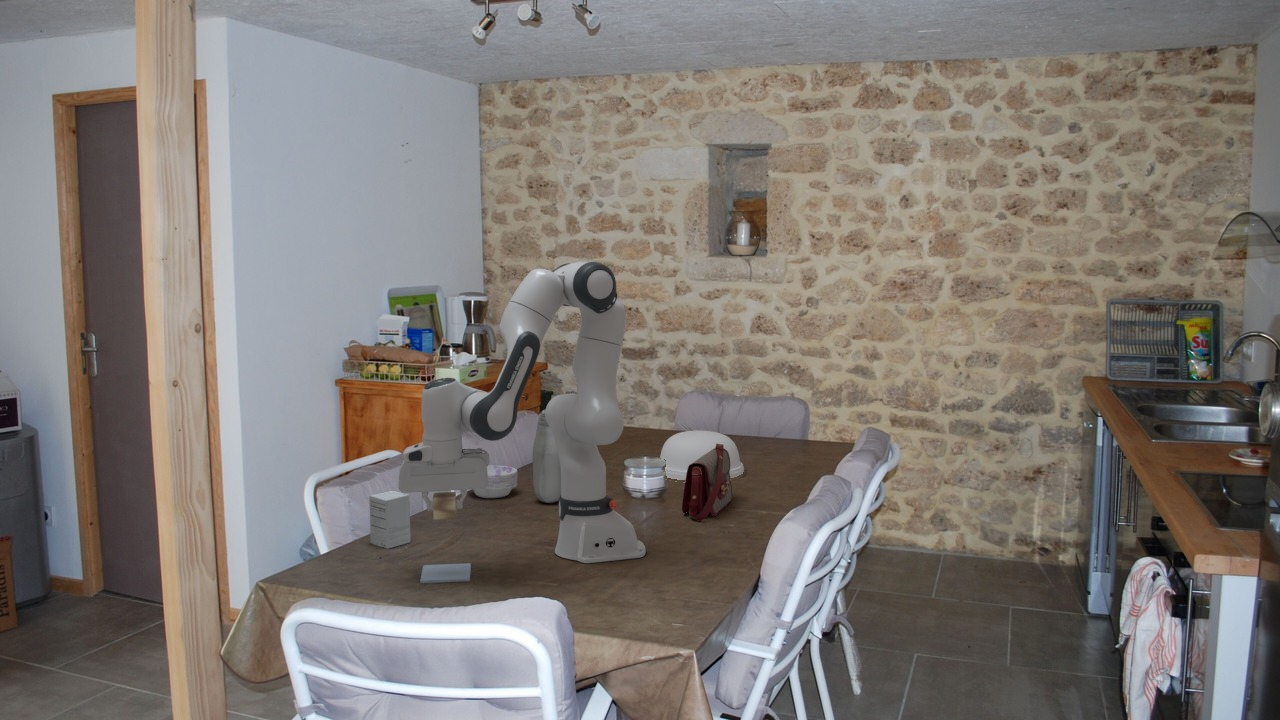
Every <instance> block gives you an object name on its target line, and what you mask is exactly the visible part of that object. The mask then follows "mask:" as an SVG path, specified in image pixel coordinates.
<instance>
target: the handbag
mask: <svg viewBox="0 0 1280 720" xmlns="http://www.w3.org/2000/svg"><path fill="white" fill-rule="evenodd" d="M723 446H724V445H723V444H716V447H715V448H714V449H712V450H711V451H710V452H708V453H707V454H705V455H703V456H702V457H700V458H699V459H698V460H696V461H695V462H693V463H692V464H690V465H689V466H688V469H687V474H686V481H685V482H684V489H683V495H682V503H681V511H682V513H683V514H687V513H688V515H689V518H691V519H693V520H696V521H698V520H701V521H703V520H705V518H707V517H708V516H709V514H710V515H711V516H712V517H716V516H717V515H716V514H718V513H719V512H720V511H721V510H722V509H723V508H724V507H725V506H726V505H727V504H728V503H729V502H730V503H731V501H732V498H733V487H732V486H733V485H732V481H731V479H730V456H729V453H728V451H727V450H726V449H724V447H723ZM730 503H729V504H730ZM729 504H728V505H729ZM728 505H727V506H728ZM727 506H726V507H727ZM726 507H725V508H726ZM725 508H724V509H725ZM724 509H723V510H724ZM723 510H722V511H723ZM688 511H689V512H688ZM722 511H721V512H722ZM686 512H687V513H686ZM721 512H720V513H721ZM720 513H719V514H720ZM719 514H718V515H719ZM715 515H716V516H715Z"/></svg>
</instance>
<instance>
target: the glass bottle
mask: <svg viewBox="0 0 1280 720" xmlns="http://www.w3.org/2000/svg"><path fill="white" fill-rule="evenodd" d="M545 410H546V408H545V409H543V410H542V411H540V413H539V414H538V416H537V425H536V426H537V427H536V433H535V437H534V441H533V445H532V484H533V486H532V487H533V491H534V494H535V496H536V498H537V499H538V500H539V501H541V502H542V503H545V504H555V503H558V502H559V498H560V496H561V467H560V459H559V455H558V450H557V446H556V442H555V439H554V435H553V433H552V430H551V428H550V427H549V425H548V424H547V422H546V418H545Z"/></svg>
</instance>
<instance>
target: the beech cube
mask: <svg viewBox="0 0 1280 720" xmlns="http://www.w3.org/2000/svg"><path fill="white" fill-rule="evenodd" d="M456 500H457V491H437V492H433V495H432V501H433V510H432V514H433V515H432V517H433V521H434V520H438V521H439V520H454V519H457V513H458V511H457V510H458V509H456Z"/></svg>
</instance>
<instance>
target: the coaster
mask: <svg viewBox="0 0 1280 720" xmlns="http://www.w3.org/2000/svg"><path fill="white" fill-rule="evenodd" d="M471 568H472V563H470V562H469V563H467V562H466V563H464V562H463V563H445V564H444V563H442V564H424V565H422V570H421V576H420V579H419V580H420V581H419V582H420V584H432V583H433V584H434V583H435V584H437V583H452V582H453V583H456V582H457V583H459V582H471V571H472V569H471Z"/></svg>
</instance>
